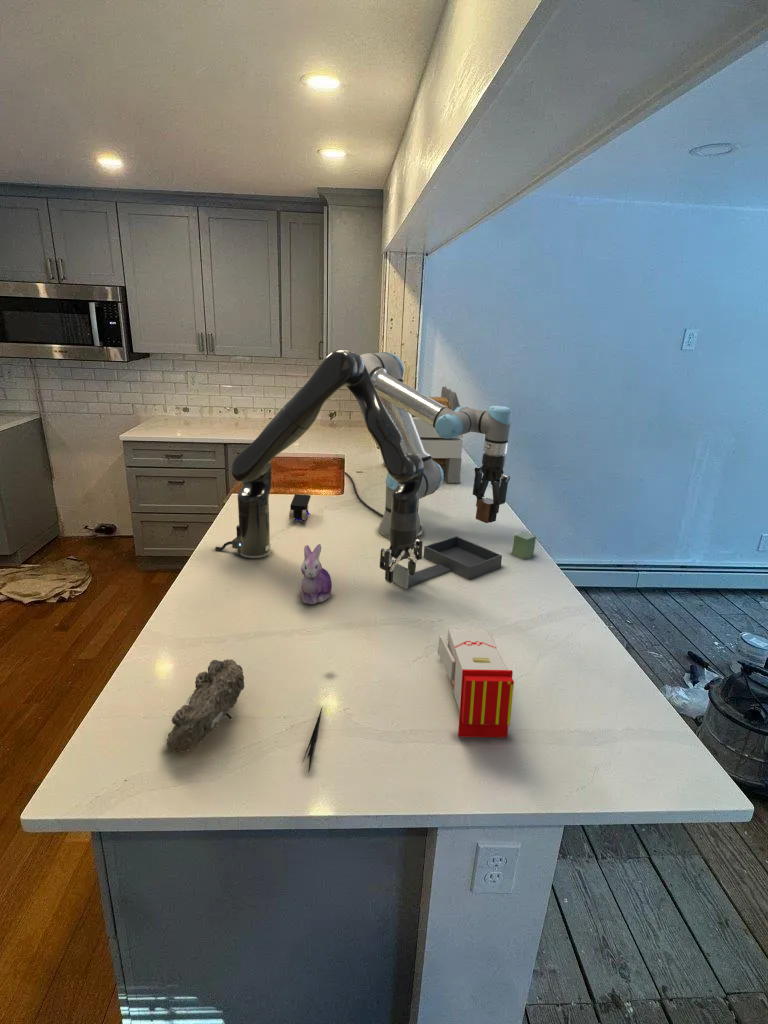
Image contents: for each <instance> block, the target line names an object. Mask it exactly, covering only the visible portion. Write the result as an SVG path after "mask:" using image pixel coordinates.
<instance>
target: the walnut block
mask: <svg viewBox="0 0 768 1024" xmlns="http://www.w3.org/2000/svg"><path fill="white" fill-rule="evenodd" d="M483 498H484V499H480V500H478V503H477V502H476V503H477V507H476V510H475V511H476V512H475V520H477V521H479V522H482V523H483V524H490V522H489V517H490V510H491V504H492V503H493V498H489V497H483ZM497 515H498V513H497V514H496V517H497Z"/></svg>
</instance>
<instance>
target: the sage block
mask: <svg viewBox="0 0 768 1024" xmlns="http://www.w3.org/2000/svg"><path fill="white" fill-rule="evenodd" d="M536 540H537V536H536V535H534V534H532V533H528V532H526V531H521V532H518V533H515V534H514V535H513V543H512V550H511V555H512V556H515V557H517V558H519V559H522V560H526V559H529V558H532V557H534V554H535V547H536Z"/></svg>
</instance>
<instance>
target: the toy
mask: <svg viewBox="0 0 768 1024" xmlns="http://www.w3.org/2000/svg"><path fill="white" fill-rule="evenodd" d="M446 640H447V643H446V641H445V639H444V636H443V635H442V634H439V637H438V646H437V656H438V657H439V659H440V661H441V663H442V666H443V668H444V670H445V672H446V674H447V677H448V679H449V681H450V684H451V687H452V690H453V693H454V697H455V701H456V705H457V708H458V711H459V714H458V715H459V716H458V730H457V731H458V732H457V737H458V738H508V731H509V726H510V725H511V717H512V707H513V697H514V696H513V695H514V684H515V680H514V679H513V673H514V671H513V670H512V669H508V667H507V665H506V662H505V661H504V659H503V658H502V655H501V653H500V651H499V649H498V647H497V643H496V639H495V637H494V635H493V634H491V632H490V631H489V629H467V628H466V629H465V628H463V629H461V628H460V629H459V628H448V630H447V639H446Z"/></svg>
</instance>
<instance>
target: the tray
mask: <svg viewBox="0 0 768 1024" xmlns="http://www.w3.org/2000/svg"><path fill="white" fill-rule="evenodd" d="M423 558H424V559H425V560H427V561H428V562H431V563H433V564H435V565H432V566H430V567H427V568H424V569H421V570H418V571H415V574H414V575H410V574H409V569H408V567H405V566H404V565H402V564H400V563H398V565H396V566H395V567H394V569H393V582H392V583H394V584H395V585H397V586H399V587H401V589H404V590H408V589H409V588H410V587H413V586H416V585H418V584H421V583H423V582H426V581H429V580H431V579H433V578H434V579H435V578H437V577H439V576H442V575H444V574H448V573H450V572H451V573H454V574H456V575H457V576H460V577H462V578H464V579H466V580H472V579H474V578H476V577H479V576H481V575H484V574H486V573H490V572H492V571H494V570H497V569H499V568H501V567H502V560H503V555H502V554H500V553H499V552H495V551H494V550H491V549H488V548H486V547H483V546H481V545H479V544H477V543H474V542H472V541H470V540H467V539H464V538H462V537H460V536H457V535H455V536H452V537H449V538H446V539H443V540H440V541H437V542H433V543H431V544H430V543H429V544H428V545H424V546H423V556H422V559H423Z"/></svg>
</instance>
